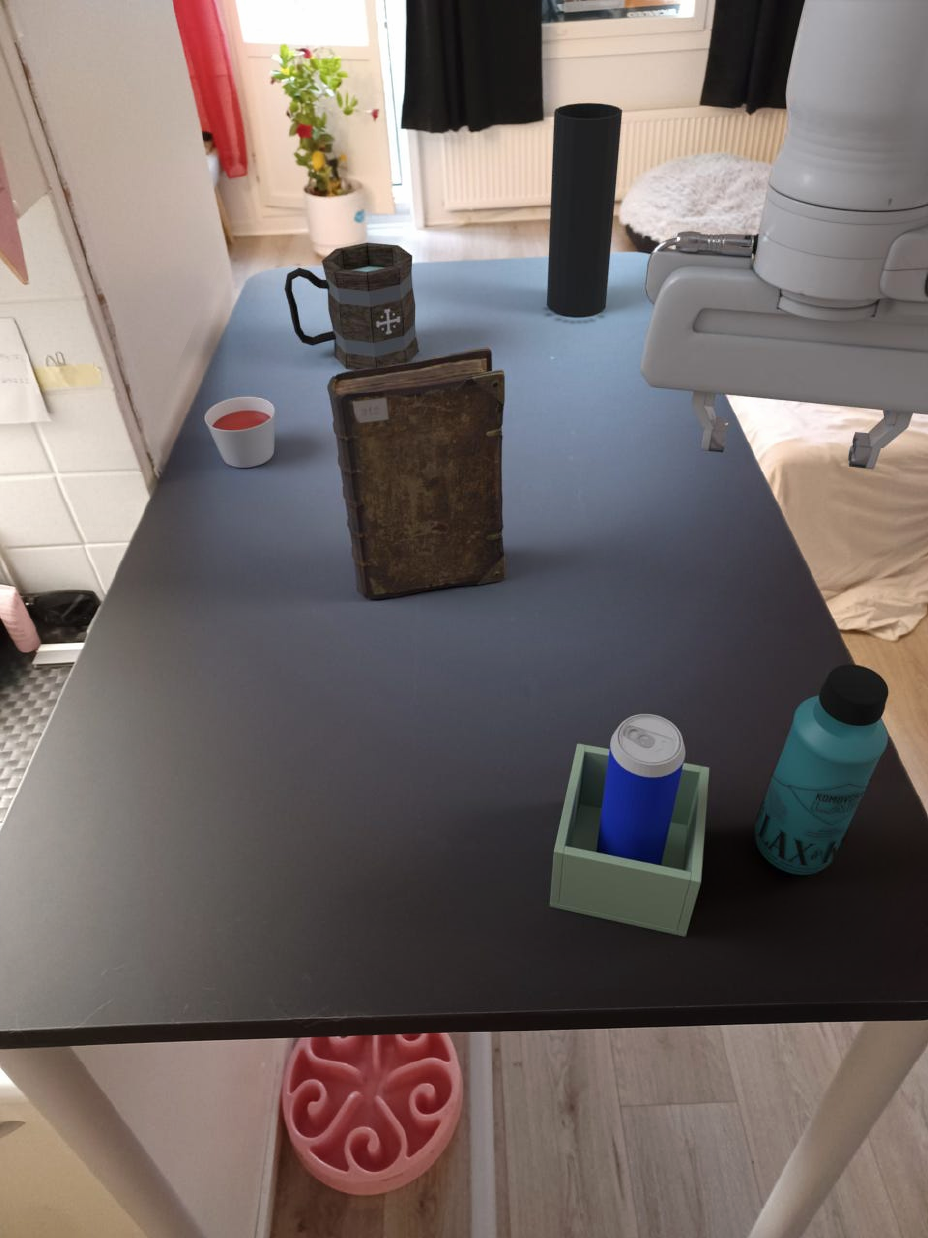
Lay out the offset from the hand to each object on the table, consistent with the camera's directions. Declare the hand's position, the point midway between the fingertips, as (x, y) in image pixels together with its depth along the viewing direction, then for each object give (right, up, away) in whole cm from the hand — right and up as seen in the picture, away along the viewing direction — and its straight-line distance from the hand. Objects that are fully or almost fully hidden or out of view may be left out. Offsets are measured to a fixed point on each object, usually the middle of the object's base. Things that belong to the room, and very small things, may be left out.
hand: (784, 455), depth 59 cm
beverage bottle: (+5, -30, +13) cm, 33 cm away
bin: (-8, -31, +13) cm, 34 cm away
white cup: (-50, +11, +61) cm, 80 cm away
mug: (-38, +31, +83) cm, 97 cm away
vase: (-2, +44, +95) cm, 105 cm away
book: (-25, -6, +41) cm, 49 cm away
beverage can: (-8, -30, +12) cm, 34 cm away
